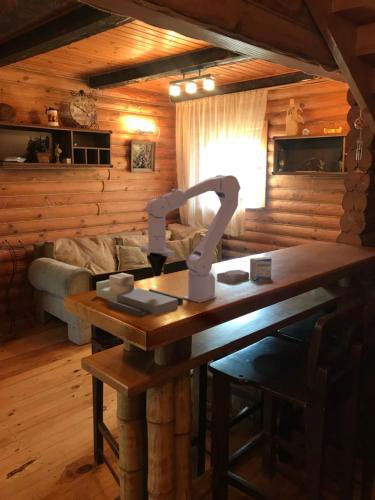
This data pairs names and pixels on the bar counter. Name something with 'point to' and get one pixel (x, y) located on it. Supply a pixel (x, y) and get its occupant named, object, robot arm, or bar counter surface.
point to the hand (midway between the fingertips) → (157, 275)
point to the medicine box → (260, 268)
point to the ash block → (121, 282)
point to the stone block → (233, 276)
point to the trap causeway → (138, 300)
